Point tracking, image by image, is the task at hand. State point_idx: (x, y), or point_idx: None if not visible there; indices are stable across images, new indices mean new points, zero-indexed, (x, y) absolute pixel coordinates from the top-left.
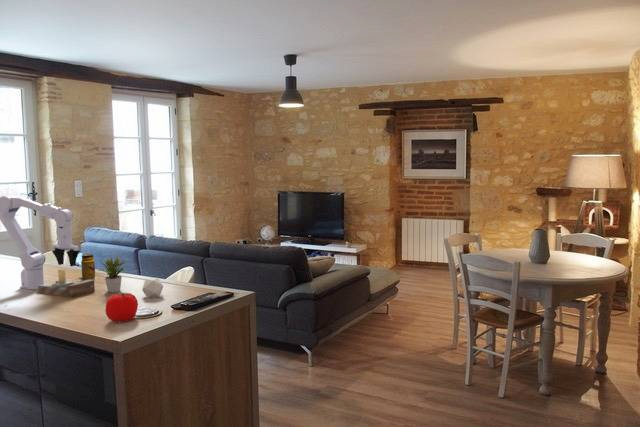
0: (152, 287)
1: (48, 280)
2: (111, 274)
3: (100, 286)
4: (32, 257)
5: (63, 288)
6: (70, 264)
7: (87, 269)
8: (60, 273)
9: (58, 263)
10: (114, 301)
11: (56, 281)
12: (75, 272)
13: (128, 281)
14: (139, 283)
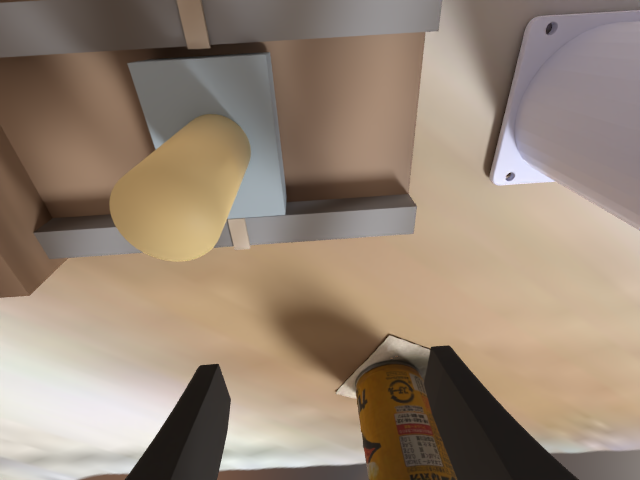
0: None
1: (606, 276)
2: None
3: (149, 321)
4: None
5: (12, 24)
6: (196, 383)
7: (377, 429)
8: (144, 159)
9: (452, 360)
10: None
11: (405, 206)
12: (558, 411)
13: (143, 420)
14: (52, 421)
